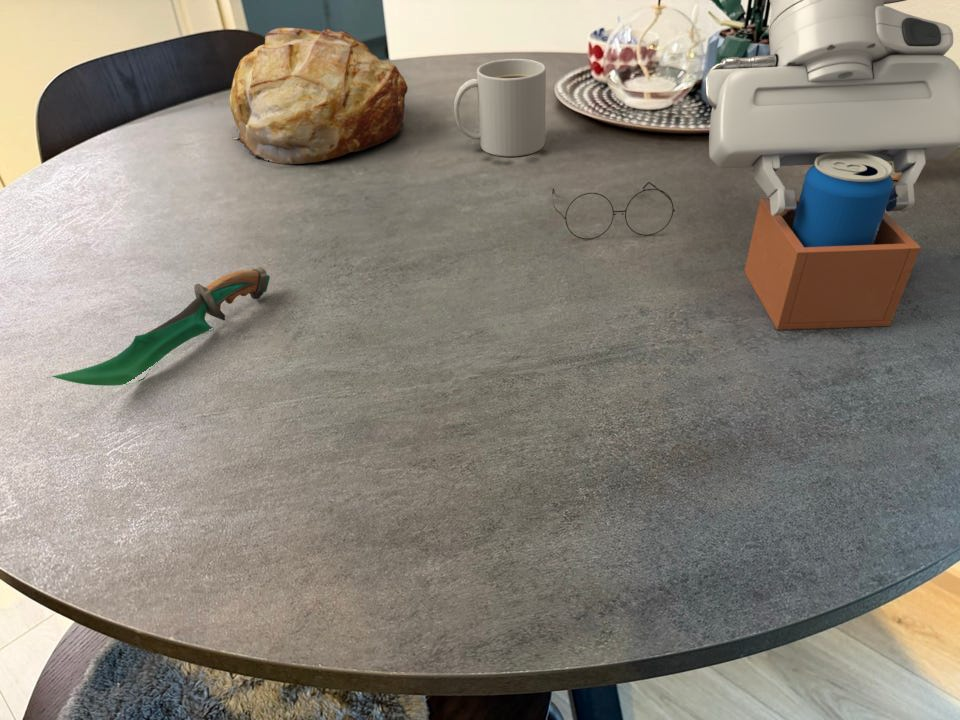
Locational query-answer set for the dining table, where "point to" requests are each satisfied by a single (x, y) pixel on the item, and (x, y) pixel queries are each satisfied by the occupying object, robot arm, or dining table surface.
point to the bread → (315, 97)
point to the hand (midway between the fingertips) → (842, 211)
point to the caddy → (827, 275)
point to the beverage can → (843, 200)
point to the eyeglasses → (618, 211)
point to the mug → (508, 107)
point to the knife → (173, 330)
